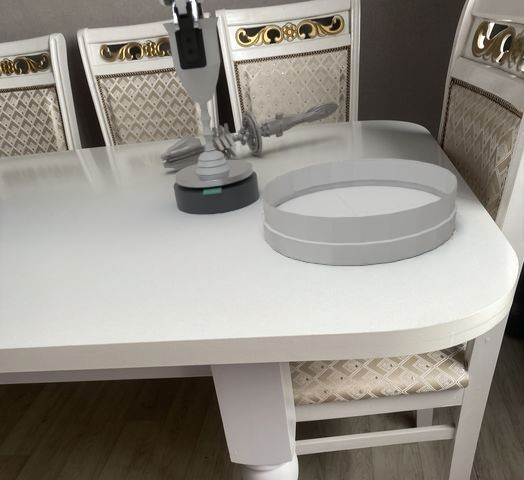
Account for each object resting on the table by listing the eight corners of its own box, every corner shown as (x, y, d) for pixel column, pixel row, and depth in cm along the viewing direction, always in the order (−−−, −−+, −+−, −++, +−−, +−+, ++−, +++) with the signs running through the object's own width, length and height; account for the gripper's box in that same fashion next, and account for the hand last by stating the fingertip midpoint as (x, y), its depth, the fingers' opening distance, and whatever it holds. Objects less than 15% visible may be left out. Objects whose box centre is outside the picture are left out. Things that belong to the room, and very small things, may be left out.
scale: (171, 219, 71) (167, 196, 70) (182, 192, 82) (178, 172, 80) (259, 210, 71) (256, 186, 69) (258, 184, 81) (256, 163, 79)
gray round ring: (282, 280, 52) (277, 232, 49) (251, 211, 71) (247, 174, 68) (494, 244, 54) (500, 196, 51) (410, 187, 72) (411, 149, 70)
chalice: (206, 162, 78) (183, 20, 68) (246, 163, 75) (229, 15, 65) (178, 176, 73) (150, 25, 63) (220, 178, 70) (198, 19, 60)
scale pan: (171, 191, 70) (170, 185, 70) (180, 169, 79) (179, 164, 79) (252, 182, 70) (252, 176, 69) (253, 161, 79) (252, 156, 78)
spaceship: (350, 96, 93) (328, 75, 97) (165, 154, 86) (150, 129, 90) (346, 136, 100) (326, 114, 104) (174, 193, 93) (159, 168, 97)
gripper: (148, -100, 65) (176, 62, 74) (118, -132, 50) (157, 76, 60) (209, -109, 64) (229, 56, 74) (195, -142, 50) (222, 68, 59)
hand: (196, 64), depth 67 cm, fingers closed on chalice, 7 cm apart
